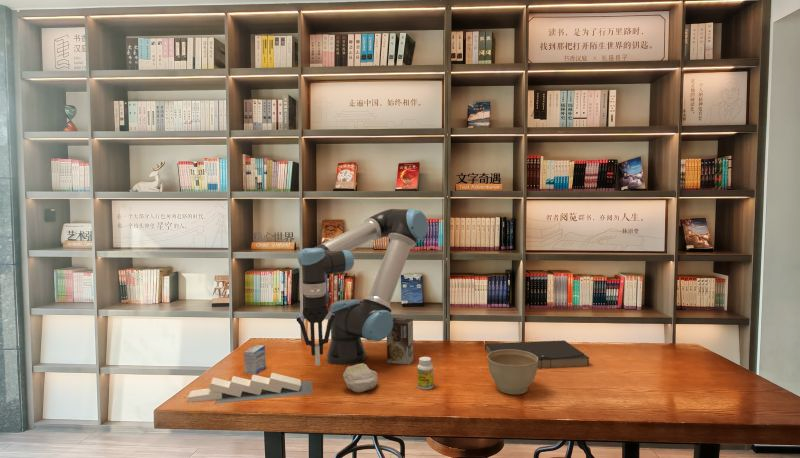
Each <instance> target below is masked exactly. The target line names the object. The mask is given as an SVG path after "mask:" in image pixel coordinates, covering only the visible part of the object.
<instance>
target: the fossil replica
mask: <svg viewBox="0 0 800 458" xmlns="http://www.w3.org/2000/svg"><path fill="white" fill-rule="evenodd" d="M342 376H343V380H344V382H345V384H346V386H347V388H348V389H349V390H351V391H352V392H355V393H363V392H365V391H370V390H373V389H375V387H376V385H378V382H379V381H378V373H377V371H375V370H372V369H370V368H369V366H368V365H367V364H366V363H362V362H360V363H355V364H352V365H348V366H347V367H346V368H345V370H344V372H343V373H342Z"/></svg>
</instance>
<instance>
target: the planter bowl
mask: <svg viewBox="0 0 800 458" xmlns="http://www.w3.org/2000/svg"><path fill="white" fill-rule="evenodd" d="M486 357H487V359H486V360H487V365H488V370H489V373H490V375H491V377H492V380H493V381H494V383H495V384H496V387H497V389H498V390H499V391H500V392H501V393H504V394H507V395H523V394H525V393H527V392H528V390H529V387H530V386H531V385H532V383H533V381H534V379H535V378H536V375H537V372H538V368H537V363H538V357H537V356H536V355H534V354H532V353H529V352H526V351H521V350H511V349H508V350H497V351H493V352H491V353H488V354H487V356H486Z"/></svg>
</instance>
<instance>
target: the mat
mask: <svg viewBox="0 0 800 458" xmlns="http://www.w3.org/2000/svg"><path fill="white" fill-rule="evenodd" d="M313 393H314V392H313V380H307V381H301V387H300V390H299V391H295V390H291V389H287V388H282V389H281V392H280V393H277V392H272V391H268V390H263V389H262V391H261V394H260V395H257V394H253V393H248V392H244V391H242V393H241V396H240V397H238V396H233V395H229V394H225V393H224V394H223V397H222V399H217V400H214V405H215V404H224V403H225V404H226V403H234V402H243V401H255V400H256V401H257V400H265V399H274V398H284V397H285V398H286V397H293V396H303V395H313Z"/></svg>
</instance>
